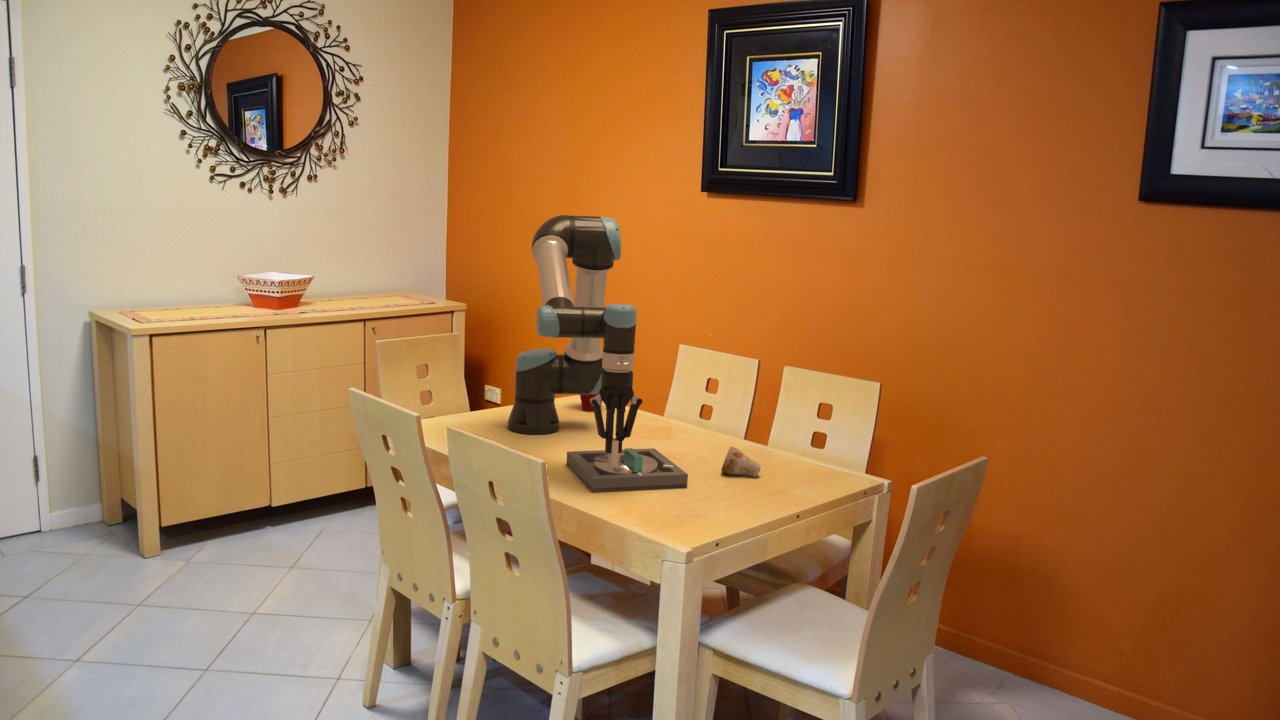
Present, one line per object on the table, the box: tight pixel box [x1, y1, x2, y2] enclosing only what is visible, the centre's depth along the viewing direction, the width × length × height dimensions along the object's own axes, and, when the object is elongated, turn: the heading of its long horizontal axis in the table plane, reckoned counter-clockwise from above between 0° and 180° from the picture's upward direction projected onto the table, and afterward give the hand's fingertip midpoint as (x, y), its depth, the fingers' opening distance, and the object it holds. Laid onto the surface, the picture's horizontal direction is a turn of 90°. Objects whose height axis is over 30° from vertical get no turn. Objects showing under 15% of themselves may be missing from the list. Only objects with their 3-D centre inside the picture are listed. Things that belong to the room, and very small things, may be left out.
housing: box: [566, 448, 689, 494], centre depth 243 cm, size 24×24×4 cm
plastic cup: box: [579, 394, 603, 412], centre depth 313 cm, size 11×11×12 cm
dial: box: [593, 447, 658, 475], centre depth 242 cm, size 18×16×6 cm
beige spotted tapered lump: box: [721, 446, 761, 478], centre depth 250 cm, size 8×10×10 cm
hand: (612, 465), depth 234 cm, fingers closed
